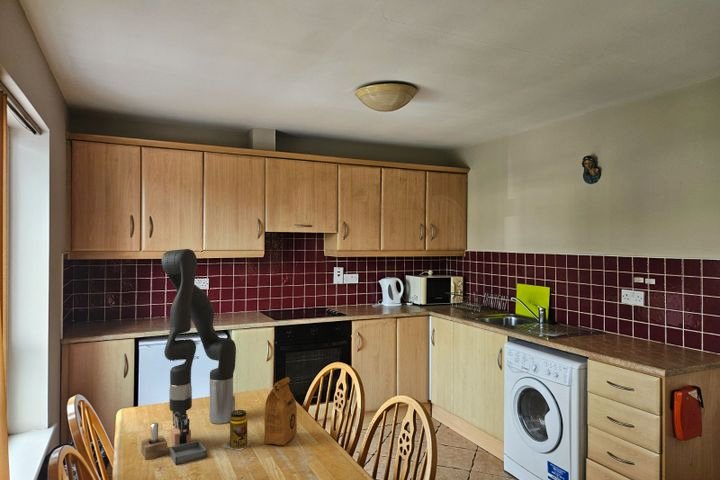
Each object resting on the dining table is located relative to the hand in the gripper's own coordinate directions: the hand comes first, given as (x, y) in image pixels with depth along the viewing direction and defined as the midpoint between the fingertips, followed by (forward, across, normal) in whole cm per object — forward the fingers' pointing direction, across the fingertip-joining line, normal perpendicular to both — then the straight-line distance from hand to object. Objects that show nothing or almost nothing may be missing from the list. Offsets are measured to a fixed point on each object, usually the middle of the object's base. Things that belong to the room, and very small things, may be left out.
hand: (180, 442), depth 174 cm
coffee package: (+1, +16, +32) cm, 35 cm away
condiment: (+1, +11, +17) cm, 20 cm away
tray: (+1, +10, 0) cm, 10 cm away
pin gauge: (+1, +2, -9) cm, 9 cm away
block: (+1, 0, 0) cm, 1 cm away
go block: (+1, +2, -9) cm, 9 cm away
